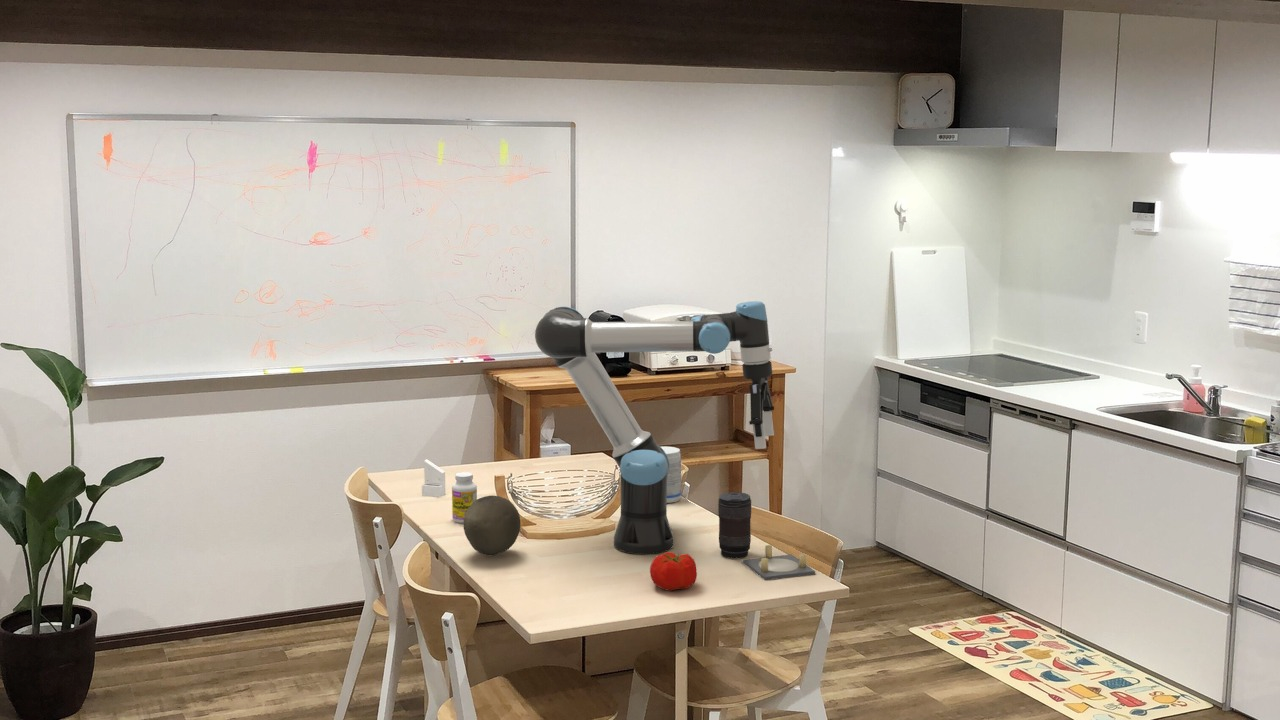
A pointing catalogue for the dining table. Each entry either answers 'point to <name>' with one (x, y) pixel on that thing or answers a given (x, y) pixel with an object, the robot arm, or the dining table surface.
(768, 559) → the mount
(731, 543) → the camera lens
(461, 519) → the supplement bottle
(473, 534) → the matte black sphere
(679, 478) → the supplement tub
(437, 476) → the white wedge bracket
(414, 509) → the dining table surface
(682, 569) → the tomato
